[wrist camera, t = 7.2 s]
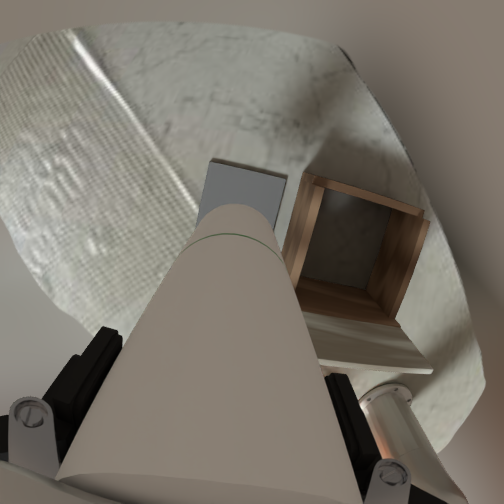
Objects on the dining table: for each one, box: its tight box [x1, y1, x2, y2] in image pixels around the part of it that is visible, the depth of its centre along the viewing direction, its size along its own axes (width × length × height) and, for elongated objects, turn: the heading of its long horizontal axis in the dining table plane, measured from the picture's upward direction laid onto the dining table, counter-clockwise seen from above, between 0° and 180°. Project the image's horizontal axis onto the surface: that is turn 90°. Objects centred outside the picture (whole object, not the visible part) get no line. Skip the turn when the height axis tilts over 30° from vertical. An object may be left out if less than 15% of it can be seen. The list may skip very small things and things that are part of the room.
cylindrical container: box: [55, 204, 363, 504], centre depth 17 cm, size 7×7×25 cm
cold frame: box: [281, 172, 433, 374], centre depth 34 cm, size 15×15×20 cm
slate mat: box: [195, 162, 286, 230], centre depth 42 cm, size 12×10×1 cm
